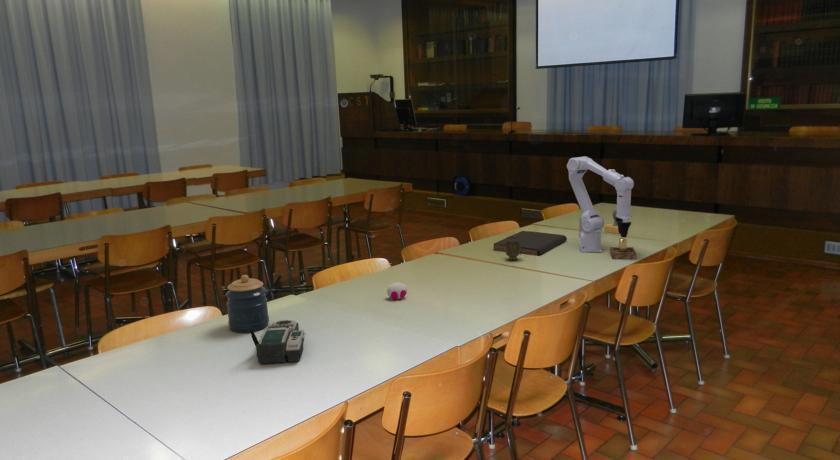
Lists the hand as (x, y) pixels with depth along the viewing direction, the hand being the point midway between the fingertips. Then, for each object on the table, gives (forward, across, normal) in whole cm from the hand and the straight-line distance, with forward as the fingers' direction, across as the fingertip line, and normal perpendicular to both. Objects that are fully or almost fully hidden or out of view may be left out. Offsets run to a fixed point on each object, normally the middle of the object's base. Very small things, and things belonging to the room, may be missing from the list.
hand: (622, 235), depth 277 cm
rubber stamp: (+10, +50, -3) cm, 51 cm away
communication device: (+10, -115, +112) cm, 161 cm away
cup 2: (+10, +38, +12) cm, 41 cm away
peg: (+9, -1, 0) cm, 9 cm away
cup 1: (+10, -9, +48) cm, 50 cm away
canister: (+10, -101, +130) cm, 165 cm away
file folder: (+10, +18, +40) cm, 45 cm away
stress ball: (+10, -68, +87) cm, 111 cm away
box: (+9, -1, 0) cm, 9 cm away
